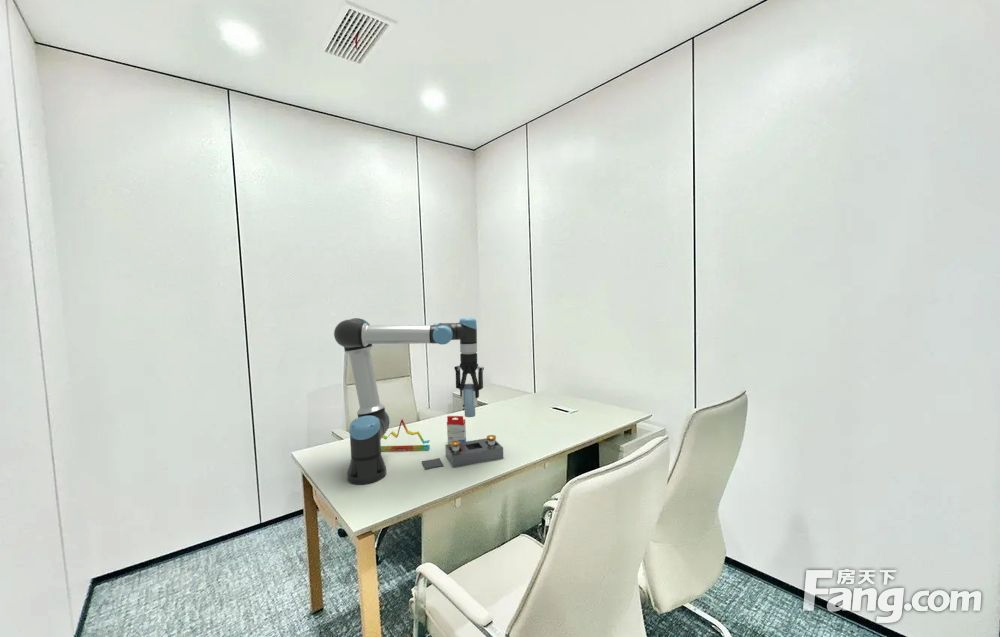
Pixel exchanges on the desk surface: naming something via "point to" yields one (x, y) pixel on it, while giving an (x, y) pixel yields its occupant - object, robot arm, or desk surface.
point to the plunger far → (491, 440)
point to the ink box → (456, 429)
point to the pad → (432, 463)
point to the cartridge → (469, 400)
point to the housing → (474, 452)
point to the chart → (408, 447)
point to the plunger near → (455, 446)
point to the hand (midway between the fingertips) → (469, 404)
